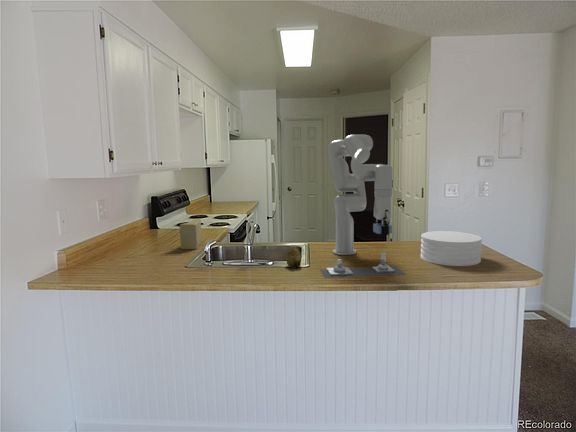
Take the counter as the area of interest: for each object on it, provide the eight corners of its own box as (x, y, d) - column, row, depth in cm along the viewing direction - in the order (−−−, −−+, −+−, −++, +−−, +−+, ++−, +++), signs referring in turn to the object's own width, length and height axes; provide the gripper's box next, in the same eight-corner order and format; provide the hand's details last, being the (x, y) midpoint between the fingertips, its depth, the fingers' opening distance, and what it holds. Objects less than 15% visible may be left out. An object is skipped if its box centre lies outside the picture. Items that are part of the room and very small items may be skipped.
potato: (282, 269, 186) (282, 252, 184) (287, 262, 198) (287, 246, 197) (300, 269, 184) (300, 253, 183) (303, 262, 197) (303, 246, 196)
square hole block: (373, 231, 180) (373, 223, 180) (386, 230, 181) (387, 223, 180) (377, 233, 174) (377, 225, 173) (391, 233, 174) (392, 225, 174)
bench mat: (319, 270, 183) (319, 269, 183) (396, 267, 186) (396, 266, 186) (324, 278, 170) (324, 278, 170) (406, 275, 173) (406, 274, 173)
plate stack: (463, 269, 181) (464, 245, 179) (409, 258, 202) (410, 236, 200) (491, 259, 198) (492, 236, 197) (438, 249, 220) (439, 229, 218)
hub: (326, 269, 182) (326, 257, 182) (347, 268, 183) (347, 256, 182) (330, 276, 173) (330, 263, 172) (353, 275, 174) (353, 262, 173)
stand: (371, 268, 183) (372, 251, 182) (388, 267, 184) (389, 250, 183) (377, 273, 175) (377, 255, 174) (394, 272, 176) (395, 254, 175)
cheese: (193, 241, 252) (192, 217, 249) (208, 241, 251) (207, 218, 248) (180, 249, 230) (178, 223, 228) (196, 249, 229) (195, 223, 227)
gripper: (368, 191, 183) (368, 230, 185) (381, 195, 166) (380, 237, 168) (384, 191, 184) (383, 229, 186) (398, 195, 166) (397, 237, 169)
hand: (382, 233), depth 177 cm, fingers closed on square hole block, 6 cm apart
